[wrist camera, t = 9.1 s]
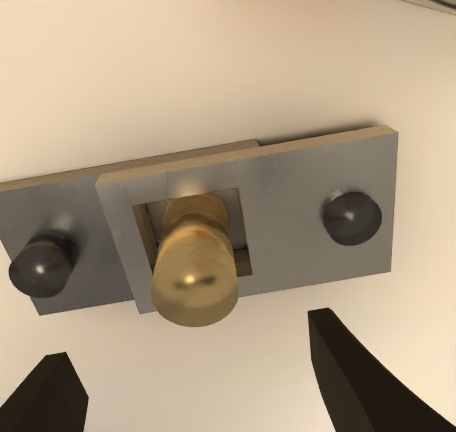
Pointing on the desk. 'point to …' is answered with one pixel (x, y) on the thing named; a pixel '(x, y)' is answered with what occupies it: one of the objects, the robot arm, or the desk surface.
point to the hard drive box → (437, 5)
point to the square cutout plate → (198, 184)
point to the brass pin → (195, 262)
